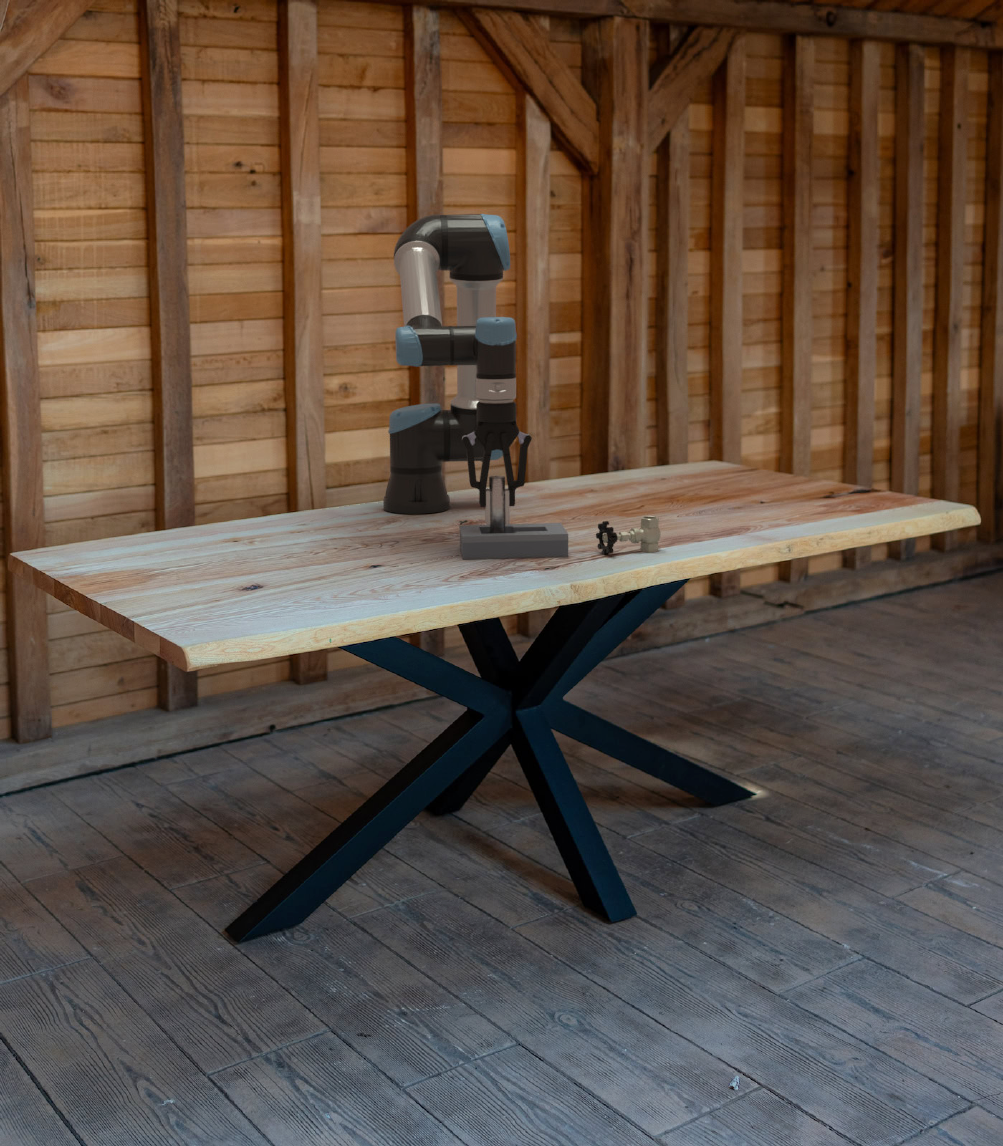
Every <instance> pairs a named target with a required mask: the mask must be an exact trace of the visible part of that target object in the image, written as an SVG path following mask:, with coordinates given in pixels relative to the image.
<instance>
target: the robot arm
mask: <svg viewBox="0 0 1003 1146" xmlns="http://www.w3.org/2000/svg"><path fill="white" fill-rule="evenodd" d="M506 227H507V226H506V224H505V221H504V219H503V218H502V217H501V216H500V215H497V214H486V213H467V214H466V213H465V214H461V213H460V214H430V215H426V216H424V217H422V218H421V217H420V218H419V219H417V220H416V221H413V222H412V223H411V224H409V226H407V228H405V230H404V231H403V232H402V233H401V235H400V236H399V238H398V239H397V242H396V243H395V247H394V250H393V265H394V269H395V271H396V273H397V274H398V275H399V279H400V282H399V283H400V291H401V292H400V293H401V304H402V305H401V306H402V318H403V326H399V327H397V328H396V330H395V333H394V334H395V335H394V336H395V340H394V341H395V359H396V362H397V364H398V365H399V366H404V367H405V366H407V367H408V366H409V367H417V368H418V367H437V366H439V367H440V366H456V372H457V373H456V382H457V383H456V385H457V386H456V388H457V389H456V391H457V392H456V395H455V396H454V397H453V398H452V399H450V409H442V406H441V404H440V403H437V402H435V403H421V404H414V405H408V406H404V407H401V408H397V409H394V410H393V411H391V413H390V415H389V417H388V418H389V421H388V423H389V424H388V425H389V428H388V430H387V431H388V434H389V468H390V469H389V471H390V473H389V479H388V481H387V485H386V490H385V494H384V497H383V500H382V502H383V510H384V511H386V512H390V513H395V514H407V515H422V514H431V513H432V514H433V513H435V514H436V513H440V512H445V511H447V510H450V508H451V499H450V495H449V494H448V491H447V487H446V484H445V483H446V482H445V480H444V477H443V474H442V473H443V471H442V469H443V468H442V464H443V463H447V462H448V463H449V462H451V463H452V462H453V463H454V462H467V470H468V479H469V484H470V487H471V488H473V489H477V490H478V492H479V494H478V495H479V496H478V497H479V499H478V501H479V505H480V508H484V512H485V514H484V515H485V516H484V517H485V520H484V521H485V525H490V490H489V488H487V487H488V480H489V471H490V465H491V461H497V460H500V459H502V457H503V464H504V465H503V466H504V469H505V470H504V471H505V476H506V477H505V478H506V483H507V488H505V524H510V507H515V505H516V490H517V489H518V488H521V487H525V484H526V483H525V482H526V472H527V461H528V460H527V459H528V451H529V446H530V444H531V442H532V440H533V439H532V436H531V435H530V434H529V433H524V432H522V431H520V428H519V427H518V425H517V403H516V401H514V400H515V399H516V398H517V371H516V368H517V367H516V363H517V361H516V360H517V353H516V352H517V337H518V334H517V330H516V328H517V327H516V320H515V319H514V318H512V317H507V316H497V286H498V285H499V283H501V282H502V281H503V280H504V271H505V272H506V271H508V270H510V269H511V254H510V253H511V252H510V244H509V238H508V231H507V228H506ZM438 271H449V280H450V281H451V282H452V283H453V284H454V285H455V286H456V287H455V288H456V326H455V325H446V326H445V325H443V322H442V321H443V320H442V319H443V318H442V311H441V302H440V294H439V284H438V275H437V272H438ZM517 437H518V440H517V441H518V443H519V444H520V446H519V455H518V456H519V457H518V464H517V465H518V466H517V476H516V477H517V479H516V480H515V477H514V470H513V464H512V463H513V462H512V459H511V458H512V457H511V451H510V450H511V449H510V448H511V446H512V444H513V443H514V442H515V440H516V439H517ZM475 462H481V470H480V475H479V480H477V473H476V465H475Z"/></svg>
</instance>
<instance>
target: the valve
mask: <svg viewBox="0 0 1003 1146" xmlns="http://www.w3.org/2000/svg"><path fill="white" fill-rule="evenodd" d="M659 519H660V517H659V516H654V515H643V516H641V517H640V528H638V527H631V528H630V529H629V531H628V532H627V531H620V532H618V533H617V532H615V531H614V527H613V526H609V525H610V521H608V520H605V521H602V522H601V523H598V524H597V528H598V530H599V532H596V533H595V537H596V539H597V540H599V541H598V544H597V550H601V554H602V556H608V555H609V554H613V553H614V545H615V544H616V543H618V540H619V542H620V543H622V542H628V541H629V542H631V544H639V543H640V552H642V553H647V554H648V553H657V552H659V542H660V539H661V529H660V527H659V523H660V522H659ZM608 526H609V527H608Z"/></svg>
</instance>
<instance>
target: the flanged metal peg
mask: <svg viewBox="0 0 1003 1146" xmlns="http://www.w3.org/2000/svg"><path fill="white" fill-rule="evenodd" d="M488 482H489V483H488V486H489V487H488V489H489V490H490V534H493V533H505V489H506V477H505V476H503V475H490V476H488Z"/></svg>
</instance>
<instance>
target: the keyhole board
mask: <svg viewBox="0 0 1003 1146" xmlns="http://www.w3.org/2000/svg"><path fill="white" fill-rule="evenodd" d="M458 527H459V533H458V534H459V550H460V553H461V557H462V560H489V559H490V560H491V559H492V560H493V559H496V560H497V559H526V558H527V559H532V558H533V559H535V558H568V557H569V533H568V531H567V530H566V528H565V527H564V526H563V523H561V522H551V523H550V522H548V523H547V522H545V523H544V522H538V523H509V524H505V533H493V534H490V525H486V524H463V525H461V524H460V525H459V526H458Z"/></svg>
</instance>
